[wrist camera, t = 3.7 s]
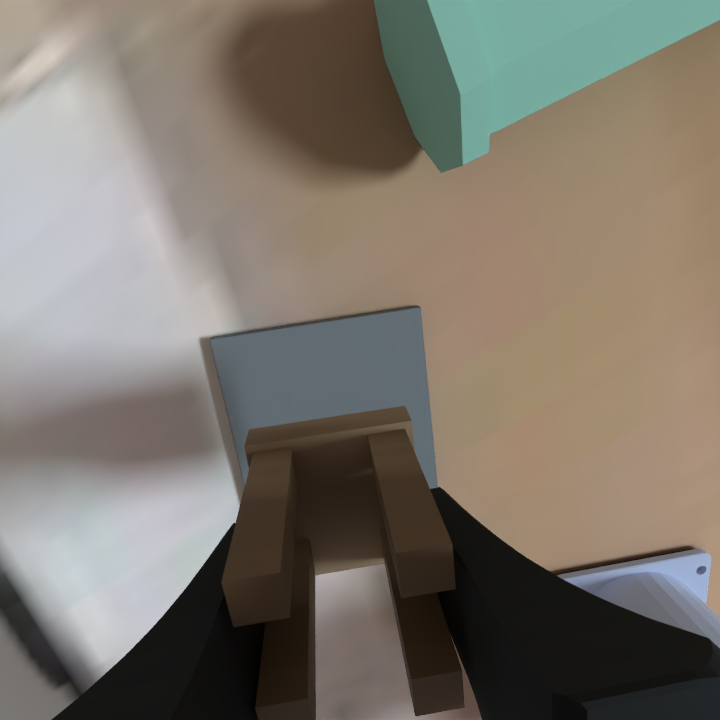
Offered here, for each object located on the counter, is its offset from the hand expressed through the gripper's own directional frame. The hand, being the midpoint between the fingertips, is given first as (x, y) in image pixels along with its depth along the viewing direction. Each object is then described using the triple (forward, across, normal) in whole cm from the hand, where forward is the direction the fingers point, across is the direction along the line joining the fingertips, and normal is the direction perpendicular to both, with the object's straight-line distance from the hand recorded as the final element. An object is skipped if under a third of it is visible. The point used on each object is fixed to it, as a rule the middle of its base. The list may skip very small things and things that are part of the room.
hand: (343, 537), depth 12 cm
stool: (+2, 0, 0) cm, 2 cm away
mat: (+8, 0, 0) cm, 8 cm away
